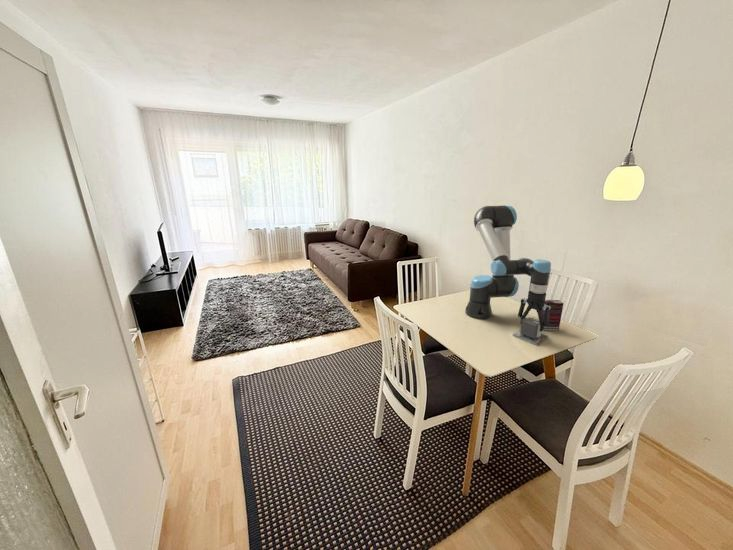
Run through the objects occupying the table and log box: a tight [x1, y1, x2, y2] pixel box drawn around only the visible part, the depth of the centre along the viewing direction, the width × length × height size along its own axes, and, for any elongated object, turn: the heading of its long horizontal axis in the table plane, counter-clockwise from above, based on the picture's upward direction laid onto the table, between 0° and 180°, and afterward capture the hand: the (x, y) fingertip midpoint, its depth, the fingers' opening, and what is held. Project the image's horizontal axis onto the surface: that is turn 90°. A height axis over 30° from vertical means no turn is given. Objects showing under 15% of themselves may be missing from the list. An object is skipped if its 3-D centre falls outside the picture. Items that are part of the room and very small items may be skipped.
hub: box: [512, 329, 549, 346], centre depth 151 cm, size 12×12×6 cm
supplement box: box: [542, 299, 564, 331], centre depth 158 cm, size 9×5×16 cm, turn 84°
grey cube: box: [519, 317, 540, 339], centre depth 150 cm, size 7×7×7 cm
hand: (530, 333), depth 151 cm, fingers closed on grey cube, 7 cm apart
